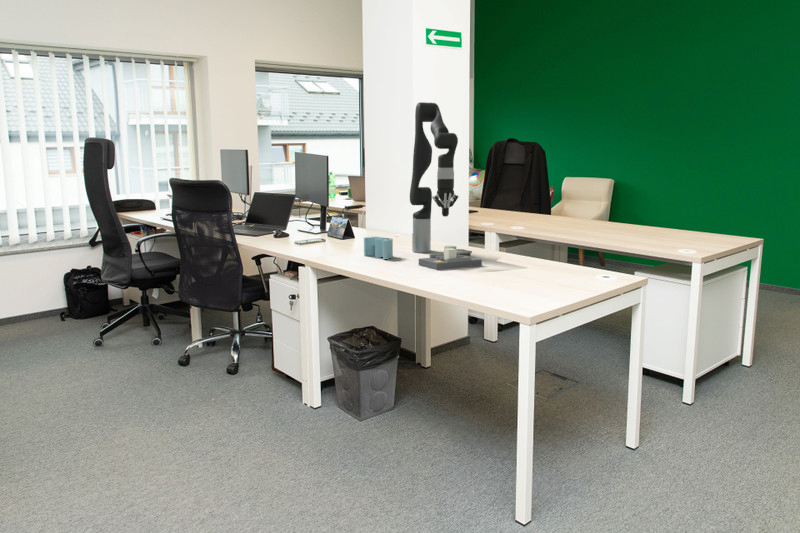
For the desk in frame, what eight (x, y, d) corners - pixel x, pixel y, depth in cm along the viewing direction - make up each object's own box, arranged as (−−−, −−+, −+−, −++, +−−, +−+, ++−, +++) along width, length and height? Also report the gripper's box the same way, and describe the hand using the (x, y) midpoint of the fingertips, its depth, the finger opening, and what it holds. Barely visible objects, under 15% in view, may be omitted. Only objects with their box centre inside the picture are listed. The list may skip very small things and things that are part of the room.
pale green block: (444, 256, 294) (444, 245, 293) (451, 255, 296) (451, 245, 295) (448, 257, 291) (449, 246, 290) (456, 256, 292) (456, 246, 292)
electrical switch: (445, 250, 311) (461, 245, 315) (447, 260, 312) (462, 255, 317) (456, 252, 303) (472, 247, 307) (458, 262, 304) (473, 258, 309)
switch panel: (418, 265, 290) (418, 255, 289) (462, 261, 301) (462, 251, 300) (436, 270, 276) (436, 259, 275) (481, 265, 287) (482, 256, 286)
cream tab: (443, 259, 283) (444, 248, 283) (451, 259, 285) (451, 248, 285) (448, 261, 280) (448, 249, 279) (456, 260, 282) (456, 249, 281)
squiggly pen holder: (399, 257, 315) (399, 238, 313) (386, 259, 307) (386, 240, 306) (372, 254, 326) (372, 236, 325) (359, 256, 319) (359, 238, 317)
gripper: (453, 177, 291) (453, 215, 294) (428, 178, 285) (428, 216, 288) (462, 178, 285) (462, 216, 288) (437, 178, 279) (437, 217, 282)
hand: (445, 216), depth 288 cm, fingers closed
